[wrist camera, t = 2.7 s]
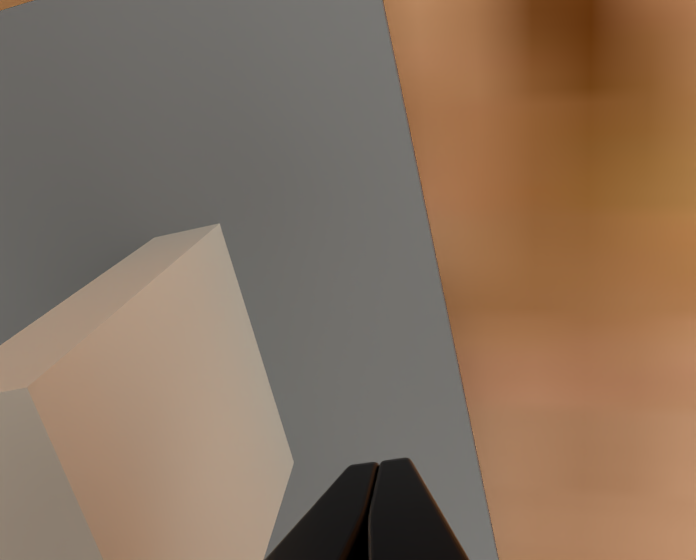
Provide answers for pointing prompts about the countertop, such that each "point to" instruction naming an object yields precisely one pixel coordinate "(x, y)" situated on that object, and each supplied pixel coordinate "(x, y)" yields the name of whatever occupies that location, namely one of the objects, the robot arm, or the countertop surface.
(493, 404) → the countertop surface
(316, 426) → the mat
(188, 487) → the tile
